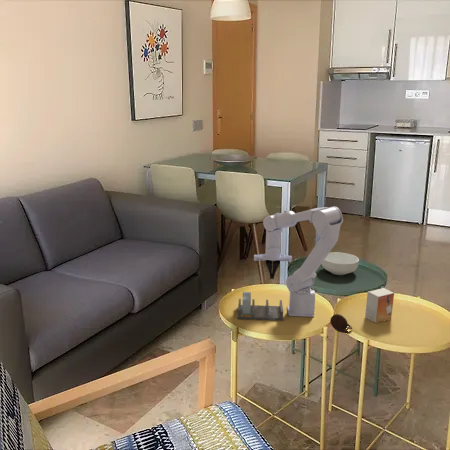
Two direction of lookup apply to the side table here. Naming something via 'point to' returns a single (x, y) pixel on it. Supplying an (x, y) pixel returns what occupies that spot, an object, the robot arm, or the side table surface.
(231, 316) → the side table surface
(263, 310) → the rack
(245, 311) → the light grey rectangular block
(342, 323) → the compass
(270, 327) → the side table surface
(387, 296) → the small box
